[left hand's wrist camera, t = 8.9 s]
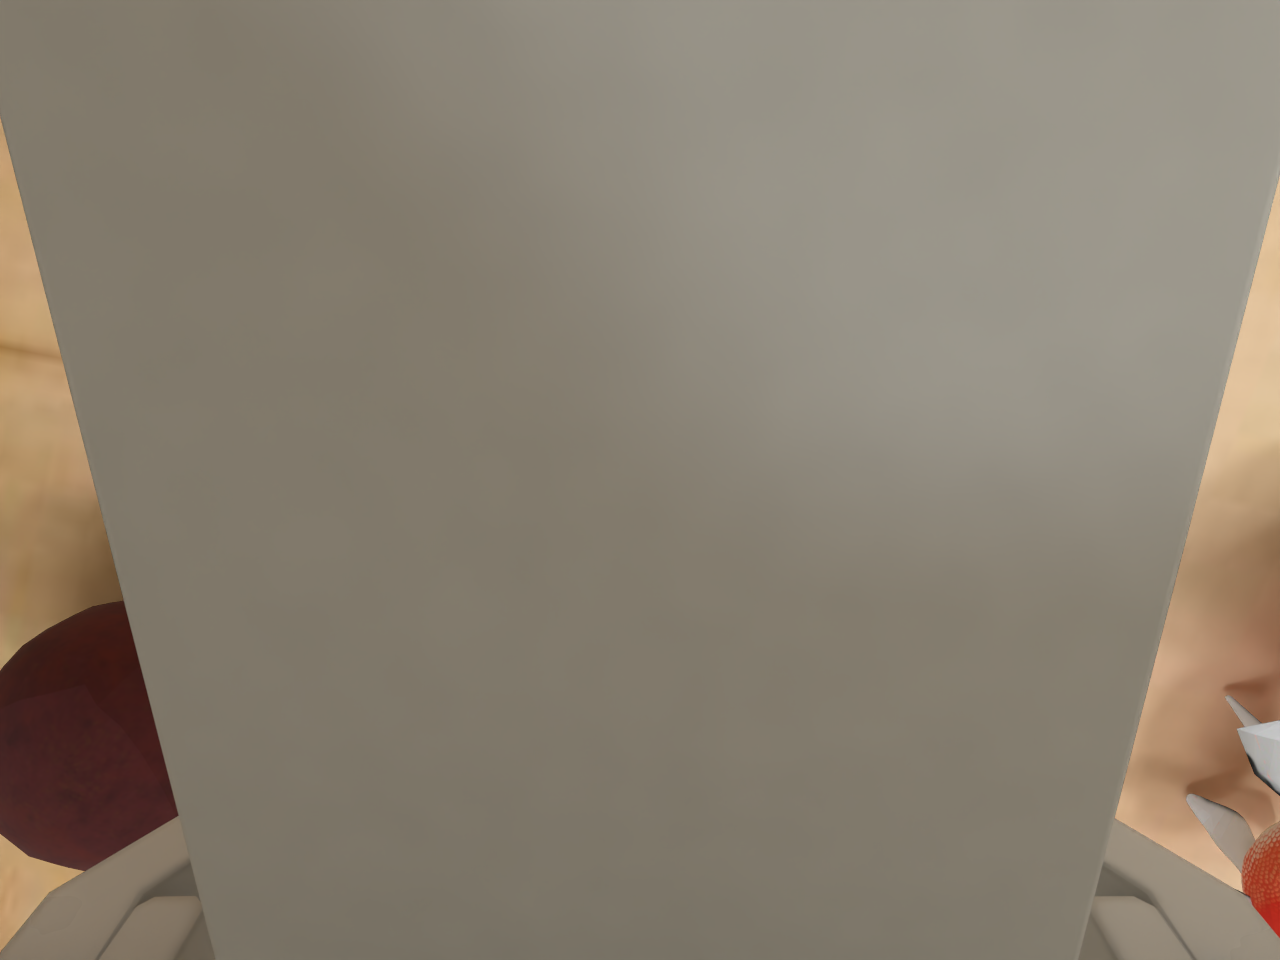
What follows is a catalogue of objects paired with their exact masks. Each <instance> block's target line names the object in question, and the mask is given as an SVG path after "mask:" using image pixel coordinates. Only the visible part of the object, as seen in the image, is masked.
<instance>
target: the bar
mask: <svg viewBox="0 0 1280 960" xmlns="http://www.w3.org/2000/svg"><path fill="white" fill-rule="evenodd" d="M0 117H1V121H2V125H3V129H4V133H5V137H6V141H7V145H8V148H9V152H10V156H11V160H12V164H13V168H14V172H15V176H16V180H17V184H18V188H19V192H20V195H21V199H22V203H23V207H24V211H25V215H26V219H27V223H28V227H29V231H30V235H31V239H32V243H33V246H34V250H35V254H36V258H37V262H38V266H39V270H40V274H41V278H42V282H43V286H44V290H45V293H46V297H47V301H48V305H49V309H50V313H51V317H52V321H53V325H54V329H55V333H56V337H57V341H58V344H59V348H60V352H61V356H62V360H63V364H64V368H65V372H66V376H67V380H68V384H69V388H70V392H71V395H72V399H73V403H74V407H75V411H76V415H77V419H78V423H79V427H80V431H81V435H82V439H83V442H84V446H85V450H86V454H87V458H88V462H89V466H90V470H91V474H92V478H93V482H94V486H95V490H96V493H97V497H98V501H99V505H100V509H101V513H102V517H103V521H104V525H105V529H106V533H107V537H108V540H109V544H110V548H111V552H112V556H113V560H114V564H115V568H116V572H117V576H118V580H119V584H120V588H121V591H122V595H123V599H124V603H125V607H126V611H127V615H128V619H129V623H130V627H131V631H132V635H133V638H134V642H135V646H136V650H137V654H138V658H139V662H140V666H141V670H142V674H143V678H144V682H145V686H146V689H147V693H148V697H149V701H150V705H151V709H152V713H153V717H154V721H155V725H156V729H157V733H158V736H159V740H160V744H161V748H162V752H163V756H164V760H165V764H166V768H167V772H168V776H169V780H170V784H171V787H172V791H173V795H174V799H175V803H176V807H177V811H178V815H179V819H180V823H181V827H182V831H183V834H184V838H185V842H186V846H187V850H188V854H189V858H190V862H191V866H192V870H193V874H194V878H195V882H196V885H197V889H198V893H199V897H200V901H201V905H202V909H203V913H204V917H205V921H206V925H207V929H208V932H209V936H210V940H211V944H212V948H213V952H214V956H215V960H1078V958H1079V954H1080V950H1081V946H1082V943H1083V939H1084V935H1085V931H1086V927H1087V923H1088V919H1089V915H1090V911H1091V907H1092V904H1093V900H1094V896H1095V892H1096V888H1097V884H1098V880H1099V876H1100V872H1101V869H1102V865H1103V861H1104V857H1105V853H1106V849H1107V845H1108V841H1109V837H1110V834H1111V830H1112V826H1113V822H1114V818H1115V814H1116V810H1117V806H1118V802H1119V798H1120V795H1121V791H1122V787H1123V783H1124V779H1125V775H1126V771H1127V767H1128V763H1129V760H1130V756H1131V752H1132V748H1133V744H1134V740H1135V736H1136V732H1137V728H1138V725H1139V721H1140V717H1141V713H1142V709H1143V705H1144V701H1145V697H1146V693H1147V690H1148V686H1149V682H1150V678H1151V674H1152V670H1153V666H1154V662H1155V658H1156V654H1157V651H1158V647H1159V643H1160V639H1161V635H1162V631H1163V627H1164V623H1165V619H1166V616H1167V612H1168V608H1169V604H1170V600H1171V596H1172V592H1173V588H1174V584H1175V581H1176V577H1177V573H1178V569H1179V565H1180V561H1181V557H1182V553H1183V549H1184V546H1185V542H1186V538H1187V534H1188V530H1189V526H1190V522H1191V518H1192V514H1193V510H1194V507H1195V503H1196V499H1197V495H1198V491H1199V487H1200V483H1201V479H1202V475H1203V472H1204V468H1205V464H1206V460H1207V456H1208V452H1209V448H1210V444H1211V440H1212V437H1213V433H1214V429H1215V425H1216V421H1217V417H1218V413H1219V409H1220V405H1221V401H1222V398H1223V394H1224V390H1225V386H1226V382H1227V378H1228V374H1229V370H1230V366H1231V363H1232V359H1233V355H1234V351H1235V347H1236V343H1237V339H1238V335H1239V331H1240V328H1241V324H1242V320H1243V316H1244V312H1245V308H1246V304H1247V300H1248V296H1249V293H1250V289H1251V285H1252V281H1253V277H1254V273H1255V269H1256V265H1257V261H1258V257H1259V254H1260V250H1261V246H1262V242H1263V238H1264V234H1265V230H1266V226H1267V222H1268V219H1269V215H1270V211H1271V207H1272V203H1273V199H1274V195H1275V191H1276V187H1277V184H1278V180H1279V176H1280V0H0Z"/></svg>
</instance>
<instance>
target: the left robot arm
mask: <svg viewBox="0 0 1280 960" xmlns="http://www.w3.org/2000/svg"><path fill="white" fill-rule="evenodd" d="M0 960H215V956H214V952H213V948H212V944H211V940H210V936H209V932H208V929H207V925H206V921H205V917H204V913H203V909H202V905H201V901H200V897H199V893H198V889H197V885H196V882H195V878H194V874H193V870H192V866H191V862H190V858H189V854H188V850H187V846H186V842H185V838H184V834H183V831H182V827H181V823H180V819H179V816H177V817H176V818H174V819H172V820H171V821H169V822H167V823H165V824H164V825H162V826H160V827H159V828H157V829H155V830H154V831H152V832H150V833H149V834H147V835H145V836H144V837H142V838H140V839H139V840H137V841H135V842H134V843H132V844H130V845H128V846H127V847H125V848H123V849H122V850H120V851H118V852H117V853H115V854H113V855H112V856H110V857H108V858H107V859H105V860H103V861H102V862H100V863H98V864H97V865H95V866H93V867H91V868H90V869H88V870H86V871H85V872H83V873H81V874H80V875H78V876H76V877H75V878H73V879H71V880H70V881H68V882H66V883H65V884H63V885H61V886H60V887H58V888H56V889H54V890H53V891H51V892H49V894H48V895H47V896H46V897H45V898H44V900H43V901H42V902H41V903H40V904H39V906H38V907H37V908H36V909H35V911H34V912H33V913H32V914H31V915H30V917H29V918H28V919H27V920H26V922H25V923H24V924H23V925H22V926H21V928H20V929H19V930H18V931H17V933H16V934H15V935H14V936H13V937H12V939H11V940H10V941H9V942H8V943H7V945H6V946H5V947H4V948H3V950H2V951H1V952H0ZM1078 960H1280V938H1279V937H1278V936H1277V934H1276V933H1275V932H1274V931H1273V930H1272V928H1271V927H1270V926H1269V925H1268V924H1267V922H1266V921H1265V920H1264V919H1263V918H1262V916H1261V915H1260V914H1259V913H1258V912H1257V910H1256V909H1255V908H1254V907H1253V905H1252V904H1251V903H1250V902H1249V901H1248V899H1247V898H1246V897H1245V896H1244V895H1243V894H1242V893H1240V892H1239V891H1237V890H1235V889H1234V888H1232V887H1230V886H1229V885H1227V884H1225V883H1224V882H1222V881H1220V880H1218V879H1217V878H1215V877H1213V876H1212V875H1210V874H1208V873H1207V872H1205V871H1203V870H1202V869H1200V868H1198V867H1196V866H1195V865H1193V864H1191V863H1190V862H1188V861H1186V860H1185V859H1183V858H1181V857H1180V856H1178V855H1176V854H1174V853H1173V852H1171V851H1169V850H1168V849H1166V848H1164V847H1163V846H1161V845H1159V844H1158V843H1156V842H1154V841H1152V840H1151V839H1149V838H1147V837H1146V836H1144V835H1142V834H1141V833H1139V832H1137V831H1136V830H1134V829H1132V828H1130V827H1129V826H1127V825H1125V824H1124V823H1122V822H1120V821H1119V820H1117V819H1115V818H1114V822H1113V826H1112V830H1111V834H1110V837H1109V841H1108V845H1107V849H1106V853H1105V857H1104V861H1103V865H1102V869H1101V872H1100V876H1099V880H1098V884H1097V888H1096V892H1095V896H1094V900H1093V904H1092V907H1091V911H1090V915H1089V919H1088V923H1087V927H1086V931H1085V935H1084V939H1083V943H1082V946H1081V950H1080V954H1079V958H1078Z"/></svg>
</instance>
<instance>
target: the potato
mask: <svg viewBox="0 0 1280 960" xmlns="http://www.w3.org/2000/svg"><path fill="white" fill-rule="evenodd" d="M177 816H179V815H178V811H177V807H176V803H175V799H174V795H173V791H172V787H171V784H170V780H169V776H168V772H167V768H166V764H165V760H164V756H163V752H162V748H161V744H160V740H159V736H158V733H157V729H156V725H155V721H154V717H153V713H152V709H151V705H150V701H149V697H148V693H147V689H146V686H145V682H144V678H143V674H142V670H141V666H140V662H139V658H138V654H137V650H136V646H135V642H134V638H133V635H132V631H131V627H130V623H129V619H128V615H127V611H126V607H125V603H124V601H119V602H113V603H107V604H102V605H98V606H93V607H91V608H88V609H86V610H84V611H82V612H80V613H77V614H75V615H73V616H71V617H69V618H67V619H65V620H64V621H62V622H60V623H58V624H56V625H54V626H52V627H50V628H48V629H47V630H45V631H44V632H42V633H41V634H39V635H38V636H36V637H35V638H33V639H32V640H30V641H29V642H27V643H26V644H24V645H23V646H22V647H21V648H20V649H19V650H18V651H17V652H16V653H15V655H14V656H13V657H12V658H11V659H10V660H9V661H8V662H7V663H6V664H5V665H4V666H3V668H2V669H1V671H0V834H1V835H3V836H4V837H5V838H6V839H8V840H9V841H10V842H12V843H13V844H14V845H15V846H17V847H18V848H19V849H20V850H22V851H23V852H24V853H25V854H27V855H28V856H30V857H33V858H36V859H40V860H43V861H47V862H50V863H53V864H57V865H61V866H65V867H68V868H73V869H78V870H82V871H86V870H88V869H90V868H91V867H93V866H95V865H97V864H98V863H100V862H102V861H103V860H105V859H107V858H108V857H110V856H112V855H113V854H115V853H117V852H118V851H120V850H122V849H123V848H125V847H127V846H128V845H130V844H132V843H134V842H135V841H137V840H139V839H140V838H142V837H144V836H145V835H147V834H149V833H150V832H152V831H154V830H155V829H157V828H159V827H160V826H162V825H164V824H165V823H167V822H169V821H171V820H172V819H174V818H176V817H177Z"/></svg>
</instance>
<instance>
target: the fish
mask: <svg viewBox="0 0 1280 960" xmlns="http://www.w3.org/2000/svg"><path fill="white" fill-rule="evenodd" d="M1225 698H1226V700H1227V701H1228V703H1229V704H1230V706H1231V707H1232V709H1233V710H1234V712H1235V713H1236V715H1237V716H1238V718H1239V719H1240V721H1241V722H1242V724H1243V725H1244V727H1243V728H1238V729H1237V731H1238V734H1239V736H1240V739H1241V741H1242V744H1243V746H1244V749H1245V751H1246V754H1247V756H1248V759H1249V761H1250V764H1251V766H1252V769H1253V772H1254V774H1255V775H1256V776H1257V777H1259V778H1260V779H1261V780H1262V781H1263V782H1264V783H1266V784H1267V785H1268V786H1269V787H1270V788H1271V789H1272V790H1274V791H1275V792H1276V793H1277V794H1278V795H1279V796H1280V720H1278V721H1273V722H1268V723H1263V724H1262V723H1261V722H1260V721H1259V720H1257V719H1256V718H1255V717H1254V716H1253V715H1252V714H1251V713H1249V712H1248V711H1247V710H1246V709H1245V708H1244V707H1243V706H1242V705H1240V704H1239V703H1238V702H1237V701H1236V700H1235V699H1234V698H1232V697H1231V696H1225ZM1186 801H1187V803H1188V805H1189V806H1190V808H1191V809H1192V811H1193V812H1194V814H1195V815H1196V817H1197V818H1198V819H1199V821H1200V822H1201V823H1202V824H1203V826H1204V827H1205V829H1206V830H1207V832H1208V833H1209V835H1210V836H1211V838H1212V839H1213V841H1214V842H1215V843H1216V845H1217V846H1218V847H1219V848H1220V850H1221V851H1222V852H1223V853H1224V854H1225V855H1226V856H1227V857H1228V858H1229V859H1230V860H1231V861H1232V862H1233V864H1234V865H1235V866H1236V867H1237V868H1238V870H1239V871H1240V873H1241V874H1242V889H1243V893H1242V892H1240V891H1239V892H1240V893H1242V894H1243V895H1244V896H1245V897H1246V898H1247V899H1248V901H1249V902H1250V903H1251V904H1252V905H1253V907H1254V908H1255V909H1256V910H1257V912H1258V913H1259V914H1260V915H1261V916H1262V918H1263V919H1264V920H1265V921H1266V922H1267V924H1268V925H1269V926H1270V927H1271V928H1272V930H1273V931H1274V932H1275V933H1276V934H1277V936H1278V937H1279V938H1280V821H1279V822H1277V823H1276V824H1274V825H1272V826H1271V827H1269V828H1268V829H1267V830H1265V831H1264V832H1263V833H1262V834H1261V835H1260V836H1259V837H1258V838H1257V840H1256V841H1255V839H1254V837H1253V834H1252V832H1251V830H1250V828H1249V826H1248V824H1247V823H1246V821H1245V820H1244V818H1243V817H1242V816H1241V815H1240V814H1238V813H1237V812H1236V811H1234V810H1232V809H1230V808H1228V807H1225V806H1223V805H1220V804H1218V803H1215V802H1212V801H1210V800H1207V799H1205V798H1203V797H1201V796H1198V795H1195V794H1189V795H1187V797H1186ZM1235 890H1236V889H1235ZM1237 891H1238V890H1237Z"/></svg>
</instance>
